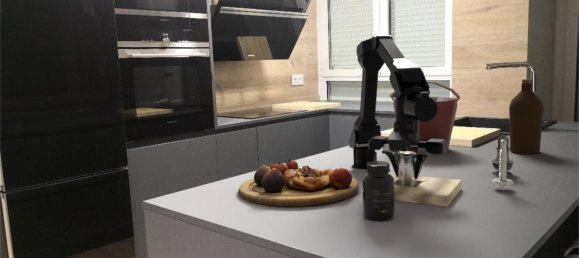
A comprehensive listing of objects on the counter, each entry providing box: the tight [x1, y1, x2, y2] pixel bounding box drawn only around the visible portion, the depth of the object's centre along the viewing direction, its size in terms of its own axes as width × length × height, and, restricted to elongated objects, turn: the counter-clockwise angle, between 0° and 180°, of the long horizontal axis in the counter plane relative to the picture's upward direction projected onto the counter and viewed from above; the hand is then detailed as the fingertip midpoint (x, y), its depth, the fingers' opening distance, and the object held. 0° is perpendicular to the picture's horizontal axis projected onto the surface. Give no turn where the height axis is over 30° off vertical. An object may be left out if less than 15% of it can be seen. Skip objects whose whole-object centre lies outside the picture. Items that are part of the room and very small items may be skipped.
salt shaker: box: [491, 132, 515, 177], centre depth 139 cm, size 6×6×12 cm
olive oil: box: [508, 78, 545, 155], centre depth 168 cm, size 11×11×25 cm
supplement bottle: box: [362, 160, 396, 222], centre depth 106 cm, size 7×7×12 cm
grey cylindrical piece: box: [398, 151, 416, 187], centre depth 124 cm, size 5×5×10 cm
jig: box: [390, 173, 462, 207], centre depth 123 cm, size 18×16×2 cm
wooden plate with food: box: [238, 158, 360, 207], centre depth 131 cm, size 32×32×8 cm
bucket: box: [389, 80, 461, 154], centre depth 179 cm, size 24×22×25 cm
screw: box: [491, 139, 514, 192], centre depth 124 cm, size 13×5×5 cm
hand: (407, 177), depth 124 cm, fingers closed on grey cylindrical piece, 4 cm apart
